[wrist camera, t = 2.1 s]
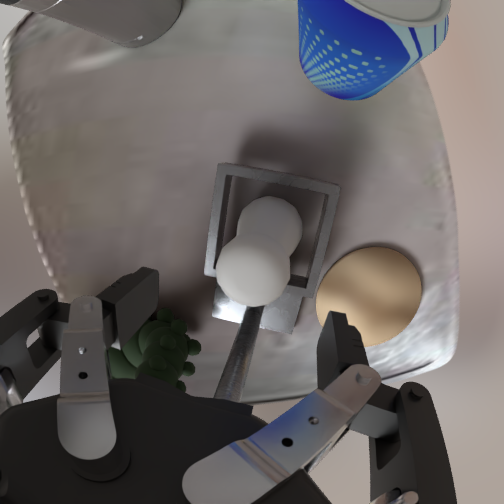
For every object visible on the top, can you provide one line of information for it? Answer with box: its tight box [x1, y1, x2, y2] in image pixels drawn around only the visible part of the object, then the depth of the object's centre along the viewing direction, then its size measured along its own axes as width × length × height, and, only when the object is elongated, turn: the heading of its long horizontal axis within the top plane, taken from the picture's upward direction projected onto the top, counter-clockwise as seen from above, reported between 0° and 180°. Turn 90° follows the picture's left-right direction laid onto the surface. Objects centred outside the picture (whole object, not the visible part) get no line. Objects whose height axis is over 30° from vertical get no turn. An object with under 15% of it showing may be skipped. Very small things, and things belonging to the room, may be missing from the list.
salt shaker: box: [216, 196, 303, 307], centre depth 21 cm, size 6×6×13 cm
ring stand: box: [204, 163, 341, 403], centre depth 18 cm, size 16×10×22 cm, turn 171°
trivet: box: [316, 247, 421, 347], centre depth 28 cm, size 12×12×1 cm
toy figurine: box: [108, 308, 201, 392], centre depth 27 cm, size 9×19×25 cm
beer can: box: [298, 0, 451, 100], centre depth 14 cm, size 8×8×16 cm
